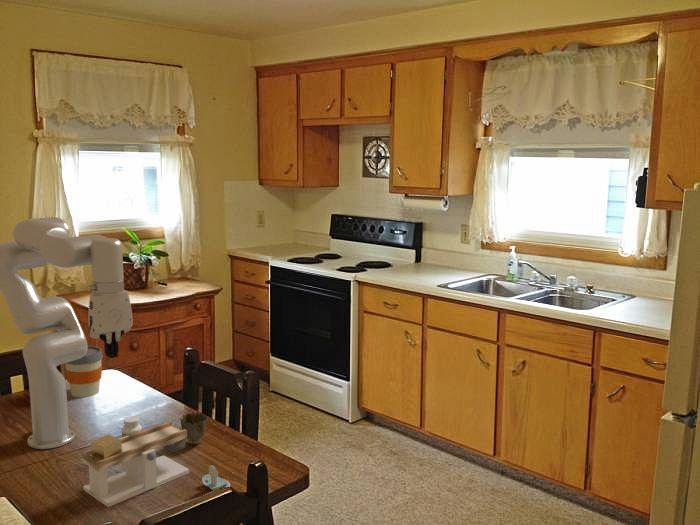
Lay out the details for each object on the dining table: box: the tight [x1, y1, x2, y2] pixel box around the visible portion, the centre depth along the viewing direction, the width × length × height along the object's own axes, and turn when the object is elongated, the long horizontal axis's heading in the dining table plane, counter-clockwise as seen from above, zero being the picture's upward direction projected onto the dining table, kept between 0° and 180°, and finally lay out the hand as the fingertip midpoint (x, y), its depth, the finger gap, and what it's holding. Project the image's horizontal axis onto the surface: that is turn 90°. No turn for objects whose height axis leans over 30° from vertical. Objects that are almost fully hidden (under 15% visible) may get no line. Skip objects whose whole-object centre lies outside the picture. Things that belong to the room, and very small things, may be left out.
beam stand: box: [82, 436, 190, 508], centre depth 168 cm, size 23×14×10 cm, turn 139°
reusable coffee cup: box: [64, 345, 104, 398], centre depth 228 cm, size 13×13×15 cm
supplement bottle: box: [121, 416, 143, 437], centre depth 184 cm, size 5×5×10 cm
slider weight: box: [90, 434, 122, 461], centre depth 161 cm, size 5×5×4 cm
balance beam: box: [80, 421, 187, 472], centre depth 168 cm, size 25×8×5 cm, turn 139°
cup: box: [179, 412, 208, 446], centre depth 190 cm, size 8×7×8 cm
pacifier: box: [201, 465, 231, 491], centre depth 166 cm, size 7×6×6 cm
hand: (111, 356), depth 170 cm, fingers closed
